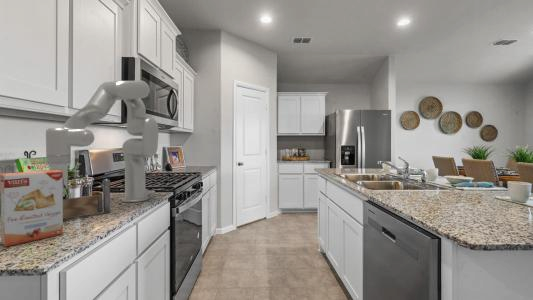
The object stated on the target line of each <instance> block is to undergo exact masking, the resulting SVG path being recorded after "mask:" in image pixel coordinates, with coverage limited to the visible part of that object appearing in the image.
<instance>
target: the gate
mask: <svg viewBox="0 0 533 300" xmlns="http://www.w3.org/2000/svg"><path fill="white" fill-rule="evenodd" d="M102 212H103V193H98V194H94V195H86V196H80V197H79V196H77V197H70V198H65V199H63V219H67V218H75V217H80V216H85V215H92V214H97V213H102Z"/></svg>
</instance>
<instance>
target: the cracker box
mask: <svg viewBox="0 0 533 300" xmlns="http://www.w3.org/2000/svg"><path fill="white" fill-rule="evenodd" d="M63 219H64V218H63V172H61V171H58V170H54V171H49V170H39V171H35V170H33V171H23V172H21V171H20V172H8V173H0V243H1V244H2V245H3V246H4V247H10V246H11V247H12V246H14V245H20V244H24V243H28V242H29V243H30V242H33V241H39V240H42V239H46V238H51V237H57V236H60V235H63V234H64V221H63Z"/></svg>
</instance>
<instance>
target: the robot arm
mask: <svg viewBox="0 0 533 300" xmlns="http://www.w3.org/2000/svg"><path fill="white" fill-rule="evenodd" d="M150 92H151V89H150V85H149V84H148V83H147V82H146V81H144V80H142V79H141V80H138V79H137V80H113V81H104V82H102V83H101V84H100V85H99V87H98V88H97V89H96V91H95V92H94V93H93V94H92V96H91V98H90V99H89V100H88V102H87V103H86V104H85V105H84V106H83V107H82V108H80V109H79V110H77V112H74V114H73V115H70V117H69V118H68V119H67V120H66V121H65V123H63V125H62V127H49V128H47V129H46V130H45V159H46V165H49V170H48V171H54V170H58V171H61V172H63V199H66V195H65V194H66V193H65V192H66V191H65V190H68V187H69V183H68V182H69V177H68V176H69V175H68V174H69V173H68V172H69V171H68V166H69V164H72V157H71V156H72V153H71V152H72V150H71V149H72V148H71V147H77V148H83V147H84V148H85V147H88V146H90V145H92V144H93V142H94V141H95V134H94V133H93V132H92V131H91V130H90V129H88V128H87V127H88V126H89V125H92V124H93V123H96V122H99V121H100V120H102V119H104V118H105V117H106V116H107V115H108V114H109V112H110V111H111V109H112V107H113V106H114V104H115V103H116V102H117V101H122V100H123V101H124V103H125V106H126V108H127V109H126V110H127V112H126V113H127V115H126V131H127V134H129V135H131V136H134V138H129V139H127V140H125V141H124V142H123V143H122V148H121V151H122V154H123V159H124V197H122V198H121V202H122V203H140V202H145V201H147V200H149V198H150V197H149V196H150V195H151V196H152V195H155V194H156V191H155V190H147V189H146V162H145V160H144V158H146V159H147V158H153V157H154V156H155V155H156V154H157V152H158V147H159V124H158V122H157V120H156V119H155V118H154V117H151V116H150V117H149V116H146V113H147V112H146V106H145V103H144V101H143V100H142V99H145V98H147V97H148V96H149V95H150ZM135 136H136V137H137V136H138V137H140V136H141V138H135Z"/></svg>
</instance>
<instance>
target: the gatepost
mask: <svg viewBox="0 0 533 300" xmlns="http://www.w3.org/2000/svg"><path fill="white" fill-rule="evenodd" d="M101 182H102V183H101V184H102V210H103V211H102V212H103V215H104V214H105V215H106V214H111V186H110V185H111V180H110V179H109V178H103V180H102V181H101Z"/></svg>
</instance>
